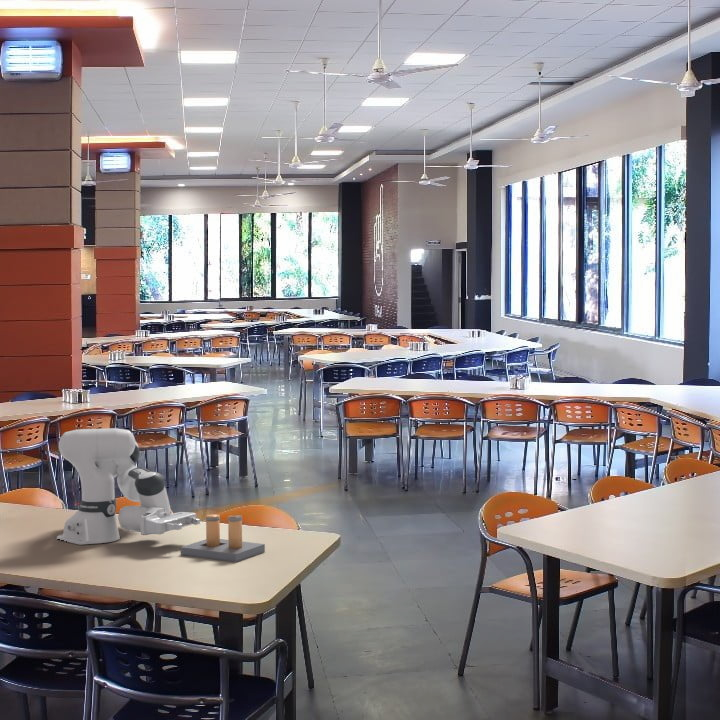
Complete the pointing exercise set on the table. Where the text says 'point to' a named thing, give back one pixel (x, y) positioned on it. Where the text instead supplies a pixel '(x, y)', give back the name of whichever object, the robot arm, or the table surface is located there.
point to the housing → (226, 545)
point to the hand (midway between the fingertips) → (189, 524)
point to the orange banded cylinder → (213, 530)
